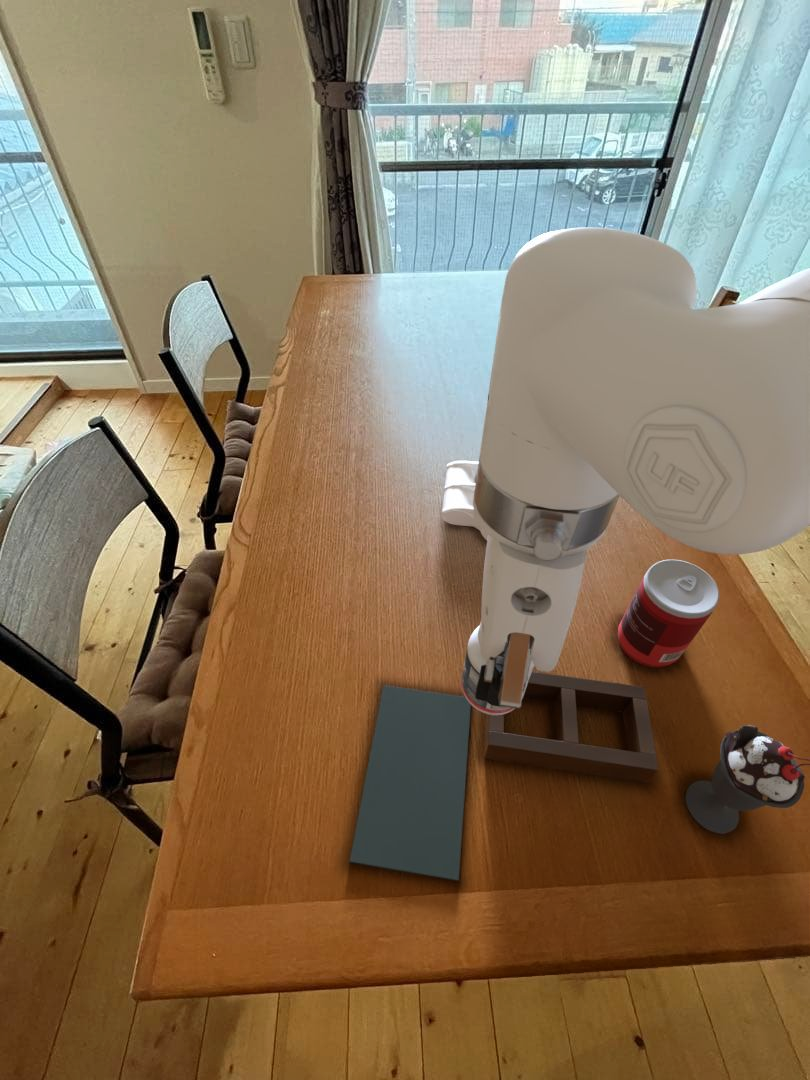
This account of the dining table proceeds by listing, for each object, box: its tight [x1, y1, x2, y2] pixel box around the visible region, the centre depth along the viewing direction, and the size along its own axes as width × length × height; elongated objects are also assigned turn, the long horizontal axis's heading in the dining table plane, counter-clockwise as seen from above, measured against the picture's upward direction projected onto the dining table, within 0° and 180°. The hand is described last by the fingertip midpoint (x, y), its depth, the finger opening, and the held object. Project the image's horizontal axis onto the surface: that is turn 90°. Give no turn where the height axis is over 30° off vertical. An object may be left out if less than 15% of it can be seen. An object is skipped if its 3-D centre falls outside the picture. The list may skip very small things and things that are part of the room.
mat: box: [349, 684, 472, 882], centre depth 56 cm, size 18×10×1 cm, turn 172°
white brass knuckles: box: [441, 460, 488, 541], centre depth 83 cm, size 3×18×15 cm
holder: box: [483, 671, 659, 784], centre depth 59 cm, size 9×16×4 cm, turn 82°
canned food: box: [617, 559, 720, 668], centre depth 64 cm, size 8×8×11 cm
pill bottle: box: [461, 622, 535, 715], centre depth 43 cm, size 5×5×9 cm
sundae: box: [685, 724, 810, 834], centre depth 49 cm, size 7×7×15 cm
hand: (498, 662), depth 43 cm, fingers closed on pill bottle, 5 cm apart
